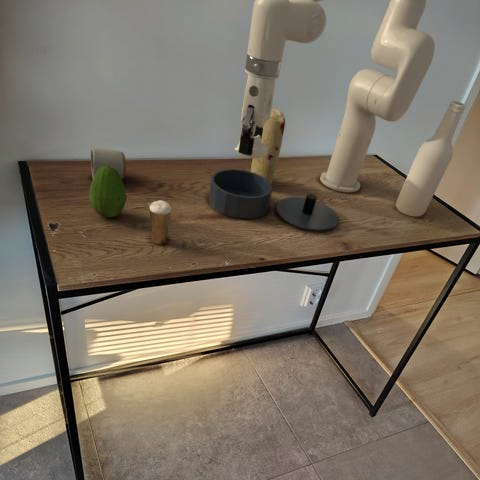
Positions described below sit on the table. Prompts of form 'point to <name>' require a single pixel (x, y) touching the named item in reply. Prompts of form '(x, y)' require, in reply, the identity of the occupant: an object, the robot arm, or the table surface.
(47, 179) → the table surface
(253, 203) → the pot
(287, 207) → the pot lid
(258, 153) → the whipped cream
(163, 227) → the milkshake
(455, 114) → the alcohol
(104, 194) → the avocado
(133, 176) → the table surface
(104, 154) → the ceramic mug
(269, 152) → the food model
